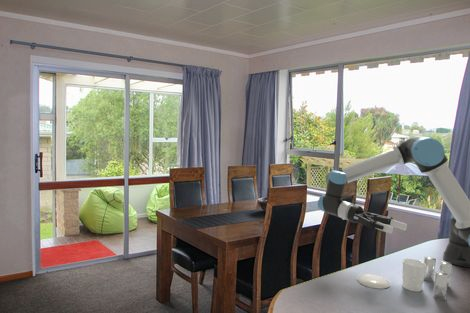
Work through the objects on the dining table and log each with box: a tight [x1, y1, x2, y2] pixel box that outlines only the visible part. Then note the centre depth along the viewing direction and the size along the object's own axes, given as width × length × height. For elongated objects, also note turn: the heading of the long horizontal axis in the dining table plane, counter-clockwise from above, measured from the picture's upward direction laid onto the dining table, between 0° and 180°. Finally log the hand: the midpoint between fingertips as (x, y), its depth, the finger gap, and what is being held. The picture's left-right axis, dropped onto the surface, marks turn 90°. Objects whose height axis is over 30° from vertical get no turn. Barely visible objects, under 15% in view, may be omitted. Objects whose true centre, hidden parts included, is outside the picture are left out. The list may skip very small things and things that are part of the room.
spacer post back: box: [438, 260, 453, 289], centre depth 148 cm, size 4×4×9 cm
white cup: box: [402, 258, 426, 292], centre depth 144 cm, size 8×8×10 cm
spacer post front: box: [432, 271, 448, 302], centre depth 137 cm, size 4×4×9 cm
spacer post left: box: [423, 256, 437, 283], centre depth 152 cm, size 4×4×9 cm
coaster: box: [356, 273, 391, 290], centre depth 149 cm, size 12×12×1 cm
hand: (399, 229), depth 149 cm, fingers open, 13 cm apart
